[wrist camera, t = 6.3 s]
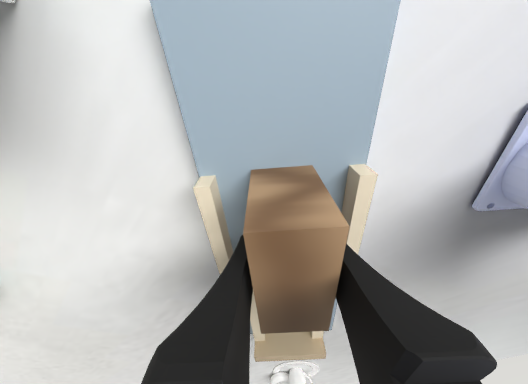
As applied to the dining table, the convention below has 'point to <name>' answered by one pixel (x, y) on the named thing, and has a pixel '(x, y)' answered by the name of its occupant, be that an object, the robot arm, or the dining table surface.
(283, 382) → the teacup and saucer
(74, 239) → the dining table surface
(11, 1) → the syrup box
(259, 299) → the brown prism
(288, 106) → the slide board
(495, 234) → the dining table surface
